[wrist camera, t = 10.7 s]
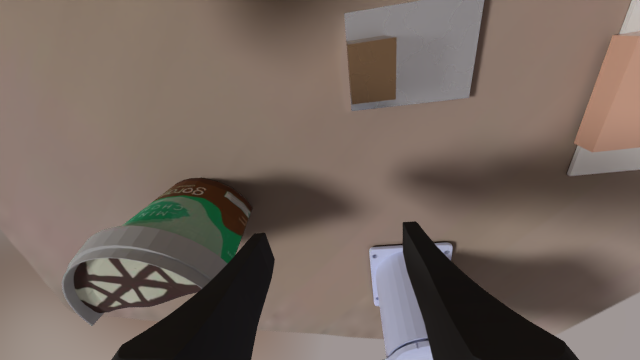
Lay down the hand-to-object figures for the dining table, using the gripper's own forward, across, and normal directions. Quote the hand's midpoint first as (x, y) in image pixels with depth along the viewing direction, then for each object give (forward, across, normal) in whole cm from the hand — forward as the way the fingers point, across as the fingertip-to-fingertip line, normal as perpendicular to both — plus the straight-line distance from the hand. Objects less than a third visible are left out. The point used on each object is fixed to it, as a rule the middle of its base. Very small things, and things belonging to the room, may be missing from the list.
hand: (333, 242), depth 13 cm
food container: (+10, +14, +2) cm, 17 cm away
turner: (+10, -6, -7) cm, 13 cm away
